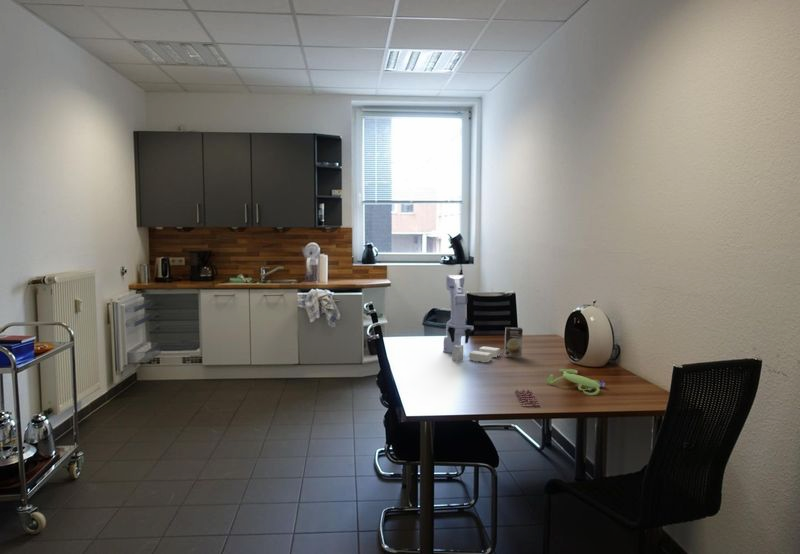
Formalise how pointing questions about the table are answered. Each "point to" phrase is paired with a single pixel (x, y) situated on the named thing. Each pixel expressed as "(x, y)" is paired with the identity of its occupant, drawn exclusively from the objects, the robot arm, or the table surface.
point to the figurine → (578, 381)
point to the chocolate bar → (527, 398)
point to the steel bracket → (457, 353)
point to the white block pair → (484, 354)
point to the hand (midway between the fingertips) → (459, 342)
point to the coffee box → (513, 342)
